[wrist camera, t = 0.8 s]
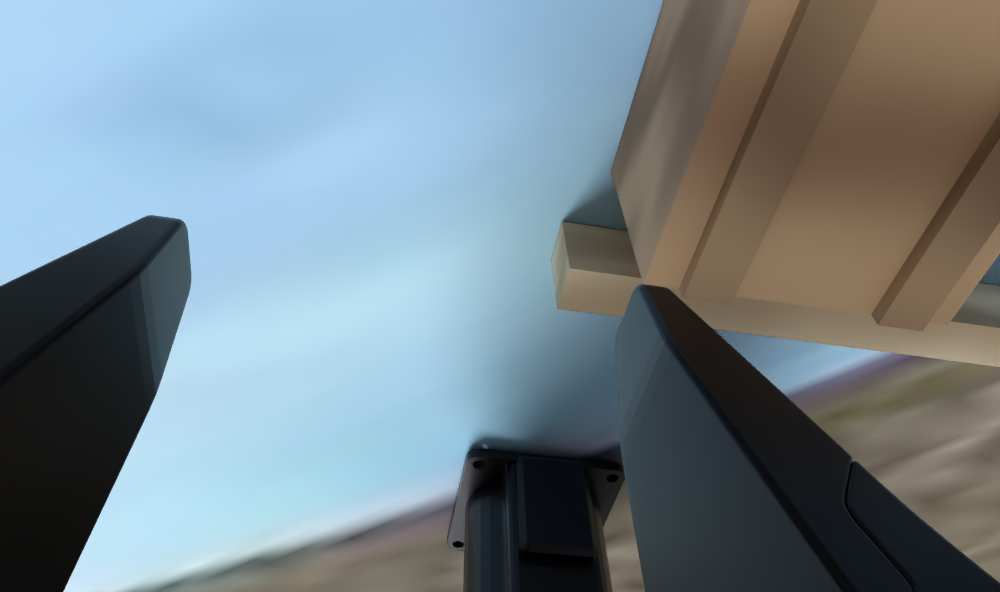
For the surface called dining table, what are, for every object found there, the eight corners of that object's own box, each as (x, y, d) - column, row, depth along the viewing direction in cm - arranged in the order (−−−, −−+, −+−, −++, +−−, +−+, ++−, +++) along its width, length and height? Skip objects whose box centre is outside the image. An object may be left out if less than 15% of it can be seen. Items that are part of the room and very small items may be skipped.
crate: (859, 210, 23) (955, 336, 18) (610, 171, 22) (645, 293, 17) (1014, -66, 18) (1199, 8, 13) (704, -133, 17) (789, -78, 12)
